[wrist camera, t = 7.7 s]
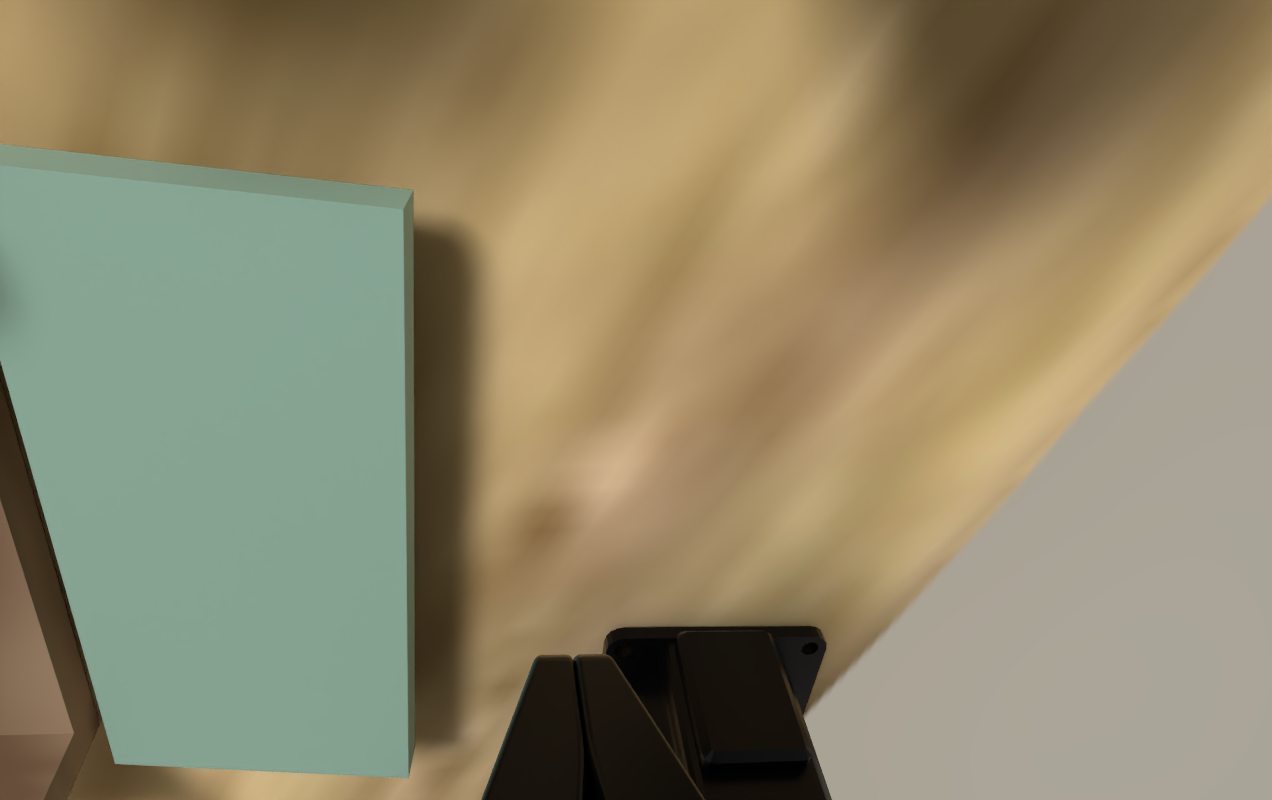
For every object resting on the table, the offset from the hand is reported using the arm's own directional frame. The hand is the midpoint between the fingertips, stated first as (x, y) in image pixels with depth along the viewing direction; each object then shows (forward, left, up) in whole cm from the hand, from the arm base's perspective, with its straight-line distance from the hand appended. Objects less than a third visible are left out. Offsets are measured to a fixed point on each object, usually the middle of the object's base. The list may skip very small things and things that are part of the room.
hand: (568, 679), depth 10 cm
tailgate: (-6, +10, -10) cm, 15 cm away
